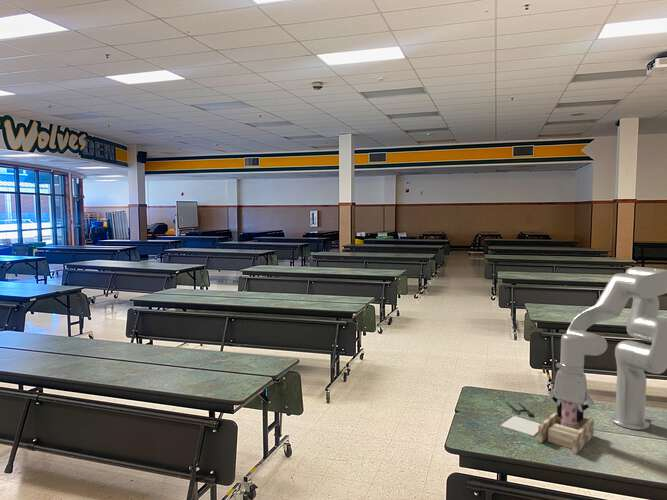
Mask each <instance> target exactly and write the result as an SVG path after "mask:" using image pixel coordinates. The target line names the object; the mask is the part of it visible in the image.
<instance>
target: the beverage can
mask: <svg viewBox="0 0 667 500" xmlns="http://www.w3.org/2000/svg"><path fill="white" fill-rule="evenodd" d="M578 410H579V409H578V406H577V404H575V403H572V402H569V401H563V400H562V407H561V425H563V426H566V427H570V428H573V429H577V430H578V427H579V422H577V411H578Z"/></svg>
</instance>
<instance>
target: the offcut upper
mask: <svg viewBox="0 0 667 500" xmlns="http://www.w3.org/2000/svg"><path fill="white" fill-rule="evenodd" d="M577 431H578V430H577V429H573V428H570V427H566V426H563V425H559V424H556V423H554V424H553V425H552V426H550V427H549V428H548V435H549V436H552V437H555V438H559V439H562V440H565V441H569V442H572V443H573V435H574V434H575V433H576V432H577Z"/></svg>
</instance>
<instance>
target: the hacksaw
mask: <svg viewBox="0 0 667 500" xmlns="http://www.w3.org/2000/svg"><path fill="white" fill-rule="evenodd" d="M506 403H507V404H506V405H507V406H509V408H511V410H512V411H511V412H512V413H513V414H520V412H525V413H527V416H528V417H529V418H530V417H532V418H533V417H535V414H534V413H532V412H531V411H529V409H527V407H525V406H524V405H523V404H521V402H519V403H517V405H518V406H520V407H521V409H518V408H516V407H514V406H513V405H512V404H511V403H509V402H508V401H507V402H506Z"/></svg>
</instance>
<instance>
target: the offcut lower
mask: <svg viewBox="0 0 667 500" xmlns="http://www.w3.org/2000/svg"><path fill="white" fill-rule="evenodd" d="M547 442H549V443H553V444H555V445H559V446H562V447H565V448H569V449H572V448H573V443H572V442H569V441H565V440H562V439H559V438H555V437H552V436H549V435H548V438H547Z"/></svg>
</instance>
